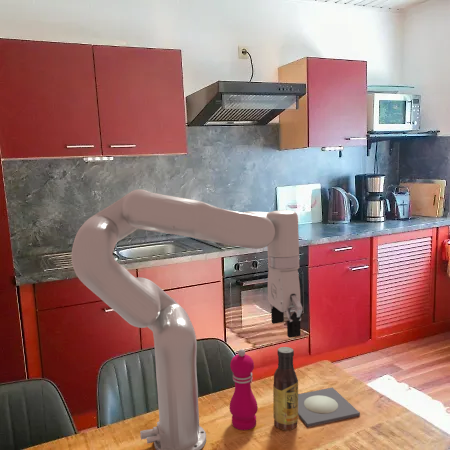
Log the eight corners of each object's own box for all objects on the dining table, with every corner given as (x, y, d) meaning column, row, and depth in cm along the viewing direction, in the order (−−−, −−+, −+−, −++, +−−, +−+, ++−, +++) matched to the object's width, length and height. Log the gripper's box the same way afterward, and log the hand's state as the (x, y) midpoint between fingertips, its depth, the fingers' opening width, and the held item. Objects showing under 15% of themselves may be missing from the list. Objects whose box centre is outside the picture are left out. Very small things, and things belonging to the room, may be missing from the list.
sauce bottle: (290, 434, 110) (289, 358, 107) (269, 426, 114) (267, 352, 111) (303, 421, 115) (302, 348, 112) (282, 414, 119) (280, 343, 116)
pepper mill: (256, 432, 111) (253, 356, 108) (227, 430, 113) (224, 355, 110) (259, 416, 118) (257, 344, 115) (232, 414, 120) (230, 343, 117)
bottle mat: (307, 427, 113) (307, 423, 113) (284, 399, 126) (284, 396, 126) (359, 415, 117) (359, 412, 117) (332, 390, 130) (332, 387, 130)
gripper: (256, 256, 116) (259, 320, 118) (283, 271, 99) (285, 345, 102) (283, 253, 118) (285, 316, 120) (314, 267, 101) (315, 339, 104)
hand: (285, 329), depth 111 cm, fingers open, 9 cm apart
